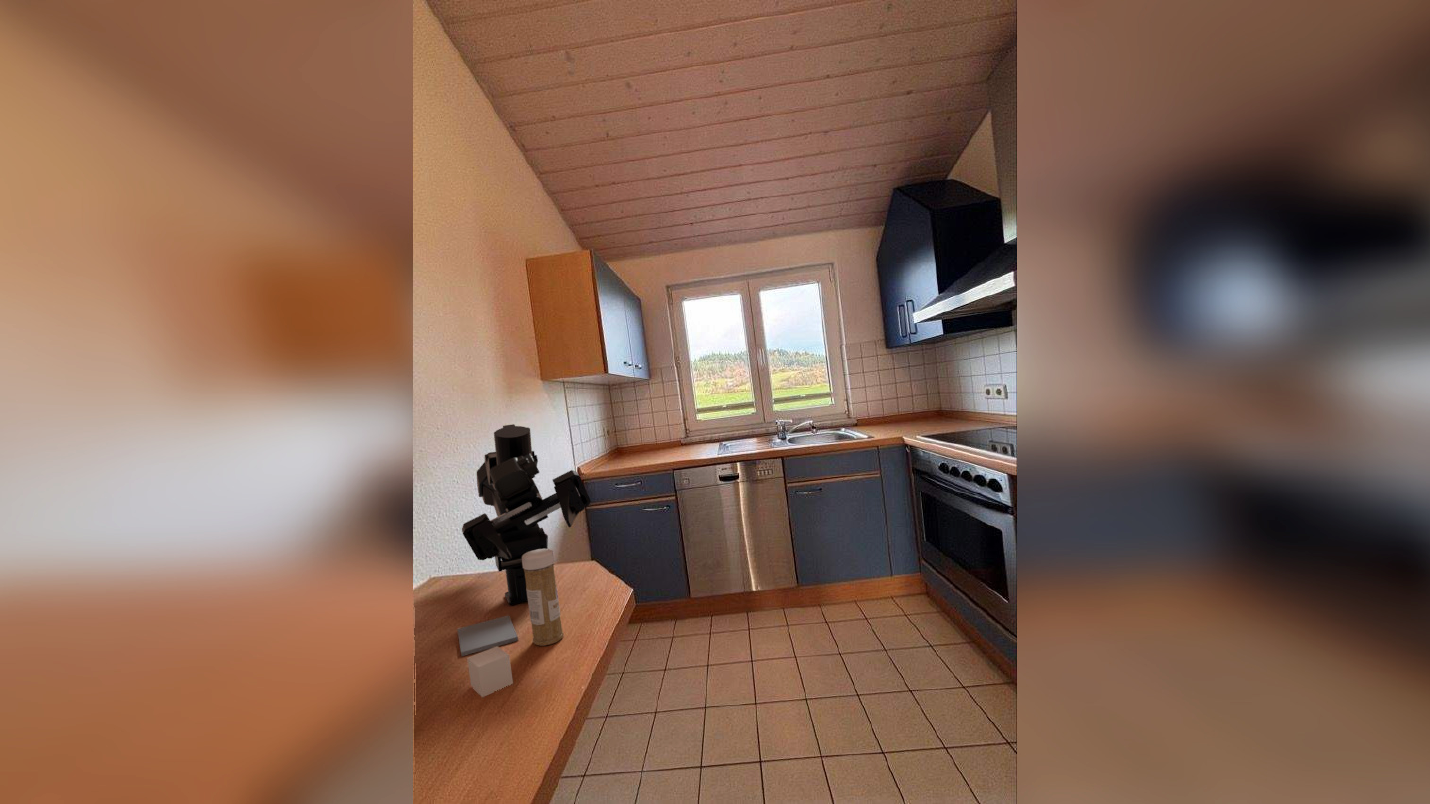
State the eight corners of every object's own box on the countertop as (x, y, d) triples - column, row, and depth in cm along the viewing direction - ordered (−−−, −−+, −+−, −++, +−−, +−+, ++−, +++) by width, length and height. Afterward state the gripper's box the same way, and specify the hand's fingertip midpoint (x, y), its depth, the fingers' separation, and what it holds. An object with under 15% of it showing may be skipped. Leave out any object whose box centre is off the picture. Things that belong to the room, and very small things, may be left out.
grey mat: (457, 632, 98) (457, 628, 98) (509, 618, 101) (508, 615, 101) (461, 656, 89) (461, 652, 89) (518, 640, 92) (517, 636, 92)
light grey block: (471, 687, 80) (467, 657, 79) (501, 674, 82) (497, 646, 82) (482, 697, 76) (478, 667, 76) (513, 684, 79) (509, 654, 79)
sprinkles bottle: (568, 639, 91) (557, 551, 90) (537, 650, 88) (526, 559, 87) (557, 630, 95) (547, 545, 94) (528, 639, 92) (517, 553, 91)
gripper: (441, 481, 94) (449, 529, 81) (553, 428, 100) (578, 465, 87) (473, 536, 99) (485, 589, 86) (578, 482, 105) (605, 524, 92)
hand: (539, 540), depth 87 cm, fingers open, 9 cm apart
